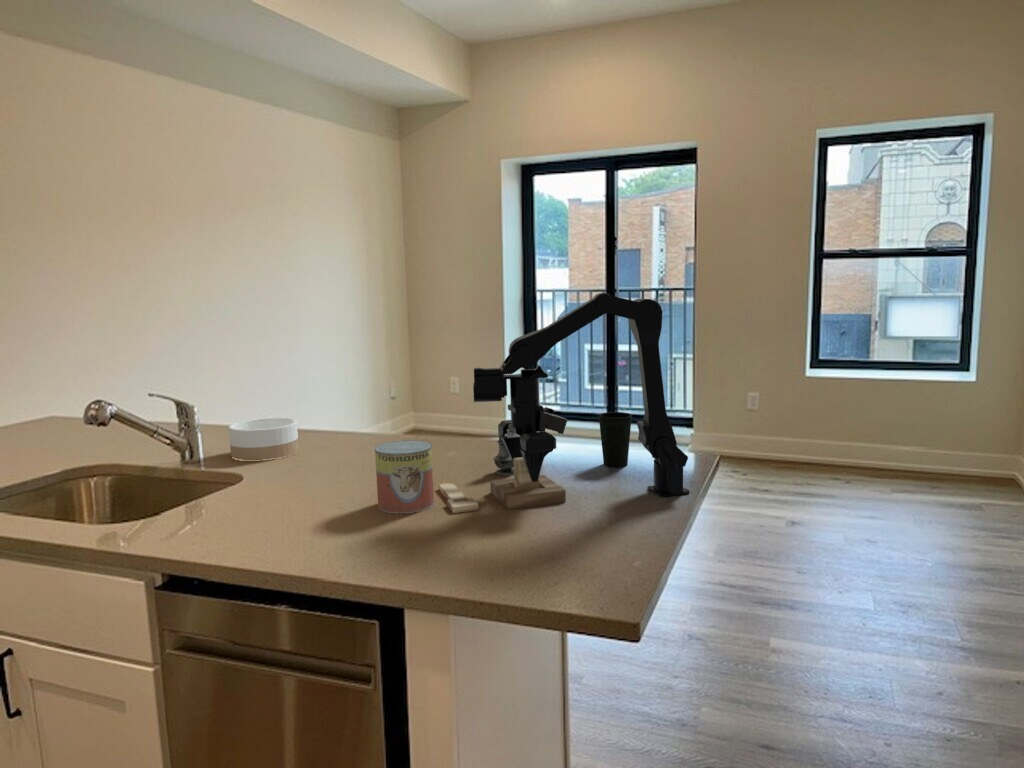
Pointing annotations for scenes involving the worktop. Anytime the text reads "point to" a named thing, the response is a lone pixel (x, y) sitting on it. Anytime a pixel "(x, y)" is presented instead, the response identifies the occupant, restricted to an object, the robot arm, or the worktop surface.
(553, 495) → the socket block
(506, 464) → the salt shaker
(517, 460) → the wooden pin
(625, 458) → the cup
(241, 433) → the bowl
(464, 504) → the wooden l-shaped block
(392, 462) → the canned food
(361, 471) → the worktop surface
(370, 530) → the worktop surface
